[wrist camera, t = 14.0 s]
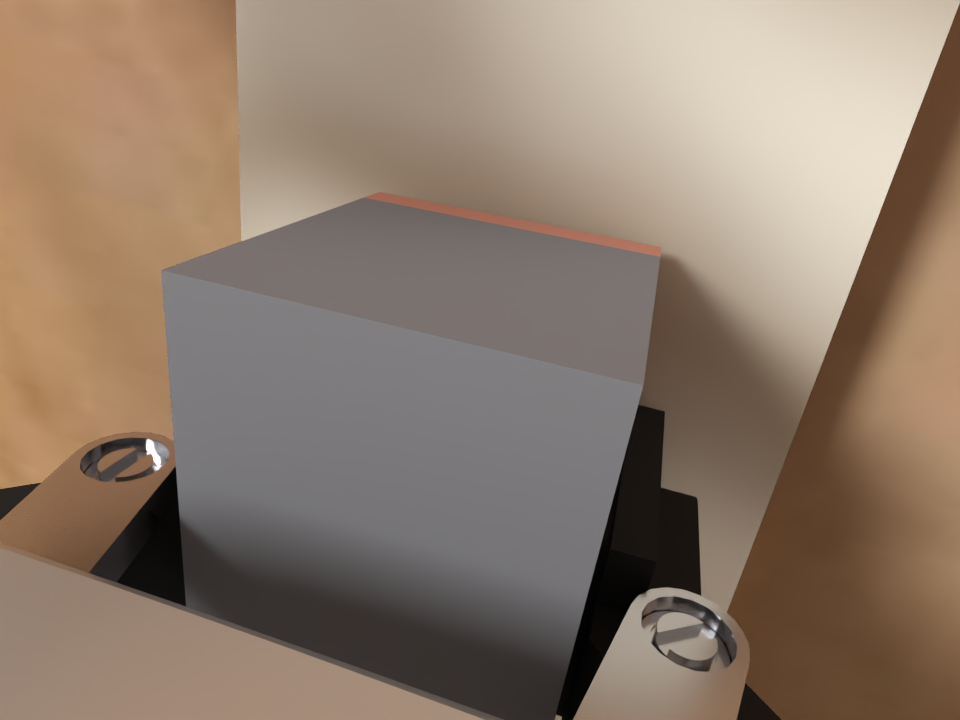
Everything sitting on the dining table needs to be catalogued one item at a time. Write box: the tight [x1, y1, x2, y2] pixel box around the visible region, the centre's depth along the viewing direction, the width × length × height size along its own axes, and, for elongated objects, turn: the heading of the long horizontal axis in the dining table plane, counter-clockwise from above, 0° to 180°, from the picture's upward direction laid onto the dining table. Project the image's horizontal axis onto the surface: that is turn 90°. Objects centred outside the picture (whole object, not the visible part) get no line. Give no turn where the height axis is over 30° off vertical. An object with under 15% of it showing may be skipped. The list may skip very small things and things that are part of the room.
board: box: [236, 0, 960, 720], centre depth 14 cm, size 26×10×1 cm, turn 172°
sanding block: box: [161, 192, 662, 720], centre depth 10 cm, size 8×4×5 cm, turn 172°
